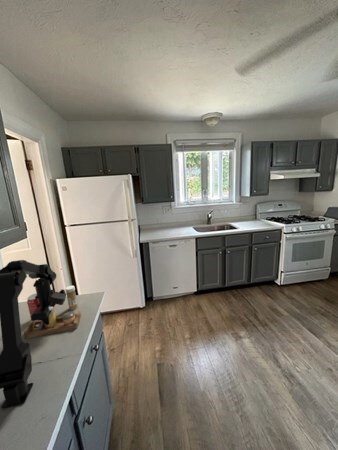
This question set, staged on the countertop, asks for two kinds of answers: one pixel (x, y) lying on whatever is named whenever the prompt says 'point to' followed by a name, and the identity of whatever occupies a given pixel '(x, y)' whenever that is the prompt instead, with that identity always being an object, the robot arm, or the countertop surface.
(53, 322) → the mustard jar
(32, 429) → the countertop surface
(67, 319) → the spice jar
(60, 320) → the wooden tray
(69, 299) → the sprinkles bottle
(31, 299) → the soda can
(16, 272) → the robot arm
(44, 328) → the pusher
